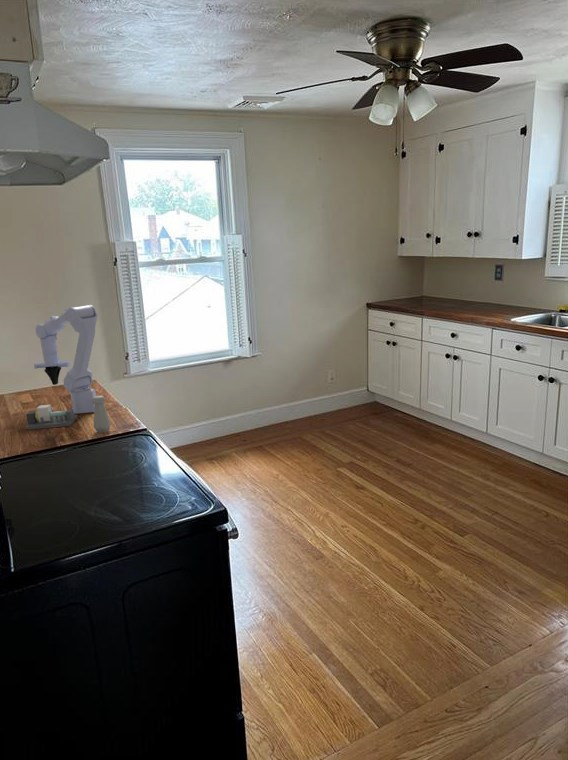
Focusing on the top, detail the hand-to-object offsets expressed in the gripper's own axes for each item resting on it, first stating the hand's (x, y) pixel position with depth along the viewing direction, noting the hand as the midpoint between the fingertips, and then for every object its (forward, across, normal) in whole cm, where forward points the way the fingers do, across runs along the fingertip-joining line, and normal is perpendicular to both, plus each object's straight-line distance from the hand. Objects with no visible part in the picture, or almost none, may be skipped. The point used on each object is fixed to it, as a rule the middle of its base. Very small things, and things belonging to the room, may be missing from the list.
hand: (55, 384), depth 227 cm
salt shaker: (+10, +32, -35) cm, 49 cm away
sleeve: (+8, +6, -23) cm, 25 cm away
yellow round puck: (+8, +4, -24) cm, 25 cm away
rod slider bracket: (+10, +8, -23) cm, 26 cm away
